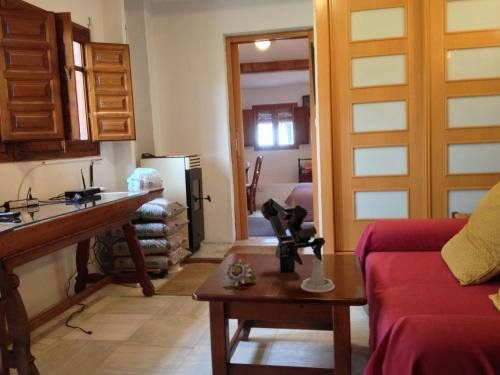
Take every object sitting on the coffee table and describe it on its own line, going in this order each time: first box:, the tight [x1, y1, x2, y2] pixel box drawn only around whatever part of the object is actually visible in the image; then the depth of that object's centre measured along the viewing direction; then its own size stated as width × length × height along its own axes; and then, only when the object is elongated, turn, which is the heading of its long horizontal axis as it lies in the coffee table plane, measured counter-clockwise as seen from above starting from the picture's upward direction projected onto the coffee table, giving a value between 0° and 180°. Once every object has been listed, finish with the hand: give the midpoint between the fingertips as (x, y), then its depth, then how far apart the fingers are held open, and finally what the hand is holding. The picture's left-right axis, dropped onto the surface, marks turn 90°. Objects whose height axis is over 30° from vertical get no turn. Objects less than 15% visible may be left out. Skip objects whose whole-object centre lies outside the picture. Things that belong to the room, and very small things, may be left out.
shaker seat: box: [300, 277, 335, 293], centre depth 170 cm, size 13×13×2 cm
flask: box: [308, 259, 326, 286], centre depth 170 cm, size 7×7×10 cm
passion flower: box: [222, 258, 257, 287], centre depth 178 cm, size 11×11×12 cm
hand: (311, 263), depth 174 cm, fingers open, 9 cm apart
